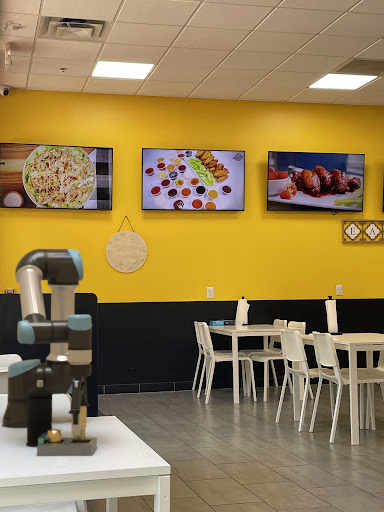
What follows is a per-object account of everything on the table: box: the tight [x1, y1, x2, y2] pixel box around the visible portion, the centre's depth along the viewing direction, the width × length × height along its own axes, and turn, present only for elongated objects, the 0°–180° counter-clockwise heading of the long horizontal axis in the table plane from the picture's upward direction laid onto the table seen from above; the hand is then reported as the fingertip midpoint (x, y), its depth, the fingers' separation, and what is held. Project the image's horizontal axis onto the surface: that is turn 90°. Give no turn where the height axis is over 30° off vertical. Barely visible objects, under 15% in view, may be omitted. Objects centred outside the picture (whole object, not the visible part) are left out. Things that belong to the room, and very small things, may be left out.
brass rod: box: [72, 406, 87, 438], centre depth 232 cm, size 4×4×12 cm
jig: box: [36, 428, 98, 457], centre depth 221 cm, size 12×16×6 cm
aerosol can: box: [25, 380, 54, 448], centre depth 233 cm, size 8×8×20 cm
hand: (79, 431), depth 232 cm, fingers open, 13 cm apart
